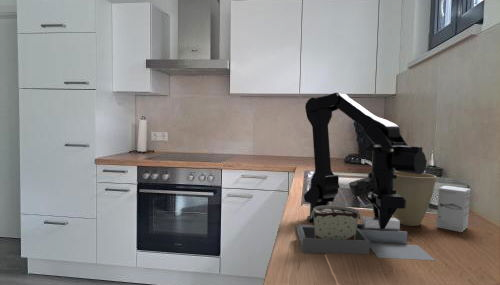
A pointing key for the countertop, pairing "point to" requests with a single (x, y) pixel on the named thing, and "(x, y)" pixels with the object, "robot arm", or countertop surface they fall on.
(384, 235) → the bracket
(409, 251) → the grey mat
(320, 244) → the case
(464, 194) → the supplement box
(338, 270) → the countertop surface
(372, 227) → the silver metal bar
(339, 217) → the food container
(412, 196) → the plant pot
